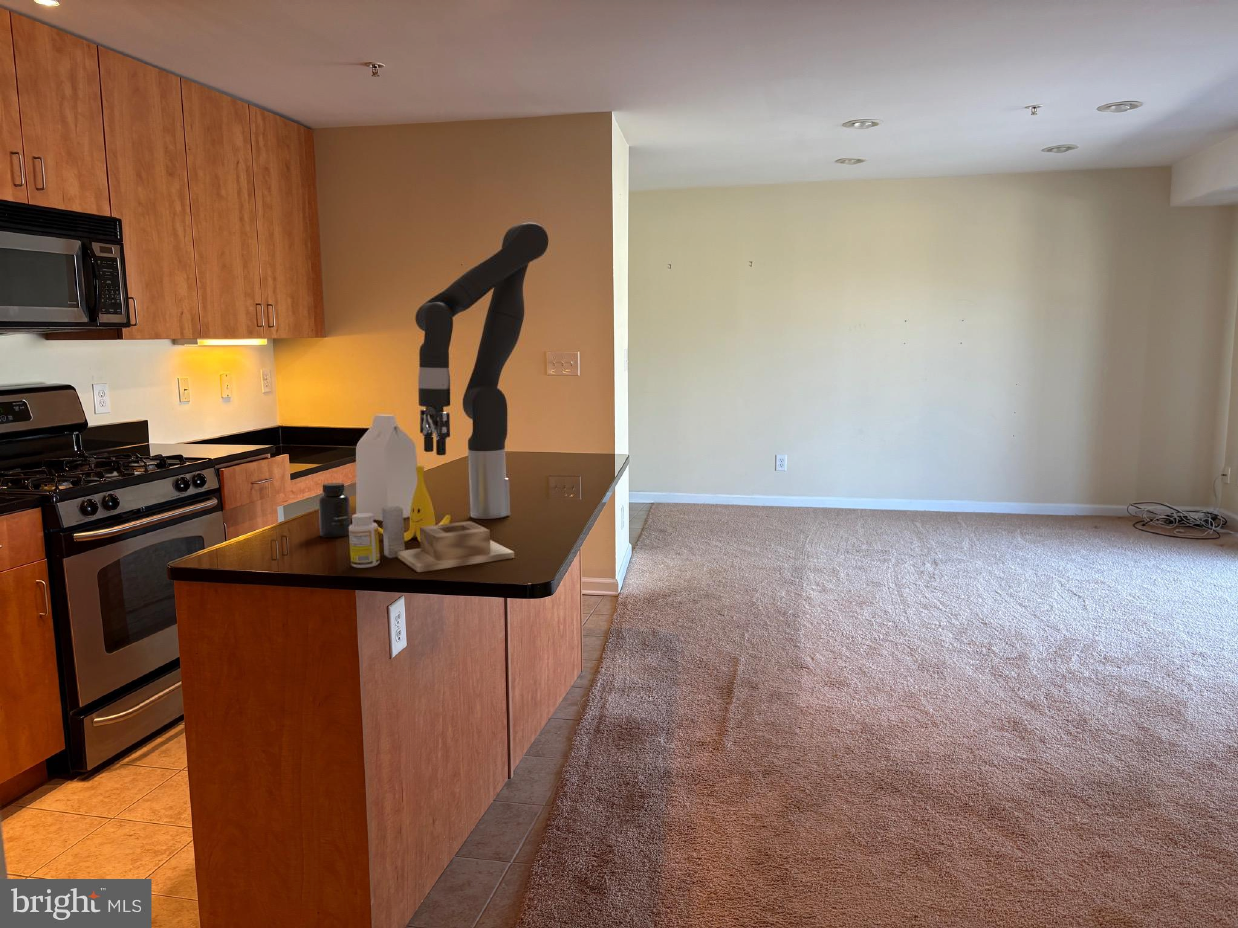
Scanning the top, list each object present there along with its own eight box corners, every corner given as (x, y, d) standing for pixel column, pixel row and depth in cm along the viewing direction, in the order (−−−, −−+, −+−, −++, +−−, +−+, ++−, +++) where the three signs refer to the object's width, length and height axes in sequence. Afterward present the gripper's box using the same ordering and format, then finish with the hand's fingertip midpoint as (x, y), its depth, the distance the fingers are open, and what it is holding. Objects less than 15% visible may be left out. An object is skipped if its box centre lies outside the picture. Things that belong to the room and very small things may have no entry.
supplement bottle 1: (341, 538, 189) (338, 486, 187) (314, 537, 190) (311, 486, 189) (356, 532, 196) (354, 481, 194) (330, 531, 197) (327, 481, 195)
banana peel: (444, 547, 180) (440, 471, 178) (372, 541, 187) (368, 467, 185) (483, 531, 195) (481, 461, 193) (415, 526, 202) (412, 458, 200)
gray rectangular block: (400, 552, 175) (398, 505, 174) (405, 555, 172) (402, 508, 171) (384, 554, 174) (381, 507, 172) (388, 558, 171) (386, 510, 169)
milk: (422, 513, 217) (417, 414, 213) (388, 521, 207) (383, 417, 204) (390, 509, 223) (385, 412, 220) (356, 516, 214) (350, 416, 210)
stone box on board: (488, 544, 182) (487, 517, 181) (514, 557, 170) (513, 528, 169) (397, 557, 171) (396, 528, 171) (418, 572, 159) (417, 541, 159)
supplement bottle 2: (369, 559, 169) (366, 510, 168) (385, 564, 166) (382, 514, 164) (345, 565, 165) (342, 515, 164) (361, 570, 162) (358, 518, 160)
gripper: (460, 387, 196) (460, 455, 198) (438, 385, 208) (439, 450, 210) (429, 387, 192) (430, 457, 194) (409, 385, 204) (410, 451, 206)
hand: (434, 453), depth 202 cm, fingers open, 8 cm apart
